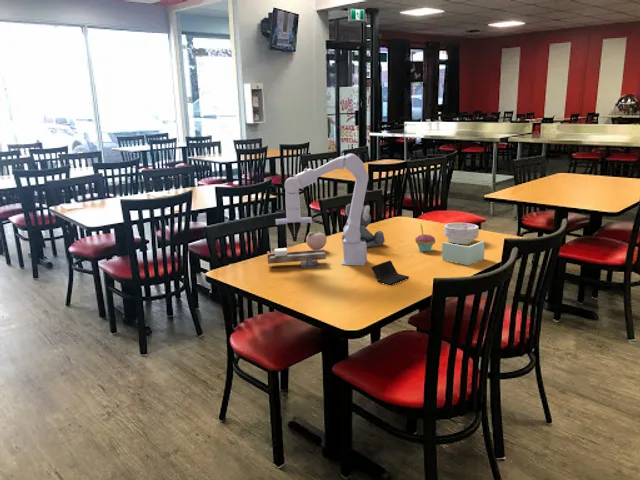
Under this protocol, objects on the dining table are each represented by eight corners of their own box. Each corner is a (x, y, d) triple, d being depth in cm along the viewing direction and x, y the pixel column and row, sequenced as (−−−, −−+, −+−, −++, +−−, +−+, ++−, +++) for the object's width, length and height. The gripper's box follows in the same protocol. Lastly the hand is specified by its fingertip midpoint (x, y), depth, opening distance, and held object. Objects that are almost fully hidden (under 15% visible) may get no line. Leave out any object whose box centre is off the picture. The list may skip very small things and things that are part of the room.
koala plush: (387, 245, 236) (387, 203, 231) (356, 252, 226) (355, 208, 221) (363, 238, 250) (362, 198, 245) (333, 245, 240) (332, 203, 235)
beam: (324, 254, 214) (323, 246, 214) (325, 259, 207) (325, 250, 207) (268, 258, 213) (267, 250, 212) (268, 263, 206) (267, 255, 205)
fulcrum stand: (316, 260, 216) (316, 251, 215) (319, 267, 206) (318, 258, 205) (300, 261, 216) (299, 252, 215) (301, 268, 206) (301, 259, 205)
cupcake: (413, 252, 222) (413, 225, 220) (417, 247, 230) (417, 221, 227) (433, 253, 219) (433, 226, 216) (436, 248, 227) (437, 222, 224)
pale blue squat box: (484, 259, 209) (484, 241, 207) (468, 265, 201) (469, 247, 199) (457, 254, 218) (458, 236, 216) (442, 260, 210) (442, 242, 208)
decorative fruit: (315, 255, 224) (314, 232, 222) (303, 251, 230) (302, 230, 228) (331, 250, 230) (330, 229, 228) (319, 247, 236) (318, 226, 234)
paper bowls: (482, 240, 238) (482, 223, 236) (472, 248, 226) (473, 230, 224) (450, 237, 246) (450, 220, 244) (439, 244, 234) (439, 227, 232)
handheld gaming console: (395, 282, 181) (382, 257, 183) (381, 291, 185) (368, 267, 187) (411, 278, 190) (398, 254, 192) (397, 287, 194) (384, 264, 196)
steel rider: (287, 254, 212) (286, 247, 211) (287, 257, 207) (286, 250, 207) (275, 255, 211) (274, 248, 210) (275, 258, 207) (274, 251, 206)
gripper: (310, 205, 209) (311, 237, 213) (274, 207, 208) (276, 239, 211) (311, 208, 202) (313, 241, 206) (274, 210, 201) (276, 243, 205)
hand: (294, 240), depth 208 cm, fingers closed
